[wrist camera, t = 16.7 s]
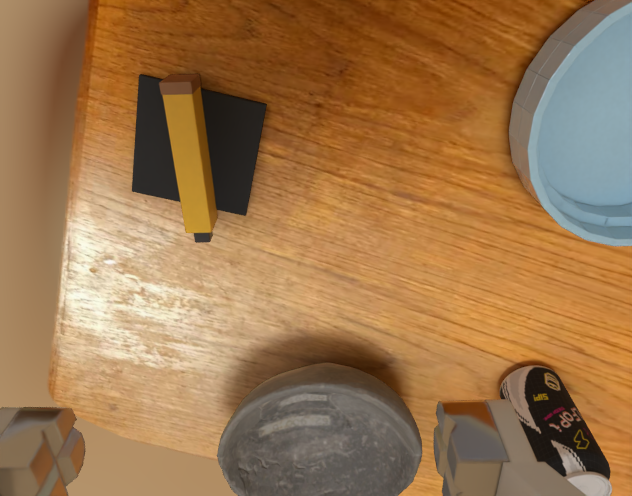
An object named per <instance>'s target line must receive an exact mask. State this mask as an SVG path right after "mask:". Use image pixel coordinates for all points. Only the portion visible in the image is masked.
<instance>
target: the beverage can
mask: <svg viewBox="0 0 632 496" xmlns="http://www.w3.org/2000/svg"><path fill="white" fill-rule="evenodd" d="M500 397H501V399H508V400H509V401H510V402H511V403H512V405H513V407H514V409H515V412H516V414H517V416H518V418H519V421H520V423H521V425H522V428H523V430H524V432H525V434H526V437H527V439H528V441H529V443H530V446H531V448H532V450H533V452H534V455H535V457H536V459H537V462H546V463H547V464H548V465H549V466H550V467H552V468H553V469H554V470H555V471H557V472H558V473H559V474H560V475H562V476H563V477H564V478H565V479H567V480H568V481H569V482H570V483H572V484H573V485H574V486H575V487H577V488H578V489H579V490H580V491H582V492H583V493H584V494H585V495H587V496H610V495H611V492H612V486H611V483H610V482H609V478H610V467H609V464H608V461H607V460H606V458H605V456H604V454H603V453H602V451H601V449H600V447H599V446H598V444H597V442H596V440H595V439H594V437H593V435H592V433H591V432H590V430H589V428H588V427H587V425H586V423H585V421H584V420H583V418H582V416H581V414H580V413H579V411H578V409H577V407H576V406H575V404H574V402H573V400H572V399H571V397H570V395H569V393H568V392H567V390H566V388H565V386H564V385H563V383H562V381H561V379H560V378H559V376H558V375H557V373H555V372H554V371H553V370H551V369H550V368H547V367H544V366H538V365H537V366H526V367H522V368H519V369H517V370H515V371H513V372H512V373H510V374H509V375H508V376H507V377H506V378H505V379H504V380H503V382H502V384H501V386H500Z"/></svg>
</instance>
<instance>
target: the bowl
mask: <svg viewBox="0 0 632 496" xmlns="http://www.w3.org/2000/svg"><path fill="white" fill-rule="evenodd" d="M217 457H218V462H219V465H220V467H221V469H222V471H223V474H224V477H225V479H226V480H227V482H228V484H229V485H230V488H231V489H232V490H233V492H234V493H236V494H237V495H238V496H398V495H399V494H400V493H401V492H402V491H403V490H404V489H406V488H407V487H408V486H409V485H410V484H411V483H412V482H413V480H414V477H415V475H416V473H417V470H418V467H419V464H420V462H421V457H422V441H421V437H420V434H419V430H418V427H417V425H416V422H415V420H414V418H413V416H412V414H411V412H410V410H409V409H408V407H407V406H406V404H405V403H404V401H403V400H402V398H401V397H400V396H399V395H398V394H397V393H396V392H395V391H394V390H393V389H391V388H390V387H389V386H388V385H386V384H385V383H384V382H382V381H381V380H379V379H378V378H376V377H374V376H372V375H370V374H368V373H366V372H363V371H361V370H359V369H356V368H353V367H349V366H343V365H338V364H334V363H319V364H313V365H309V366H304V367H301V368H298V369H294V370H290V371H287V372H284V373H281V374H278V375H276V376H274V377H272V378H270V379H268V380H266V381H264V382H262V383H261V384H259V385H258V386H257V387H256V388H254V389H253V390H252V391H251V392H250V394H248V395H247V396H246V397H245V398H244V399H243V400H242V402H241V403H240V404H239V406H238V407H237V409H236V411H235V412H234V414H233V416H232V417H231V419H230V421H229V422H228V424H227V426H226V427H225V429H224V431H223V433H222V436H221V439H220V443H219V448H218V455H217Z"/></svg>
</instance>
